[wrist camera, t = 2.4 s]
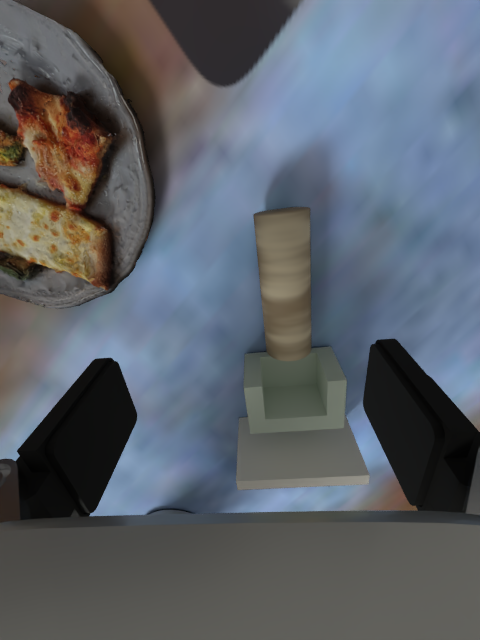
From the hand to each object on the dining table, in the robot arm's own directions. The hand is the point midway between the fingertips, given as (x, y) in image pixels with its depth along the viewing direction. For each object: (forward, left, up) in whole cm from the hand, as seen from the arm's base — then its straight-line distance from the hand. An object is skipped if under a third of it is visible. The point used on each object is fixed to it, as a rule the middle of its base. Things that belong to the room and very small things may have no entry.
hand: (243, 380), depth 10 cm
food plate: (+9, +20, -20) cm, 30 cm away
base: (-23, -3, -20) cm, 30 cm away
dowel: (-3, -3, -20) cm, 20 cm away
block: (-15, -3, -20) cm, 25 cm away
